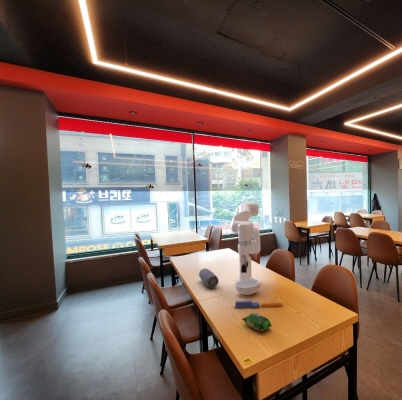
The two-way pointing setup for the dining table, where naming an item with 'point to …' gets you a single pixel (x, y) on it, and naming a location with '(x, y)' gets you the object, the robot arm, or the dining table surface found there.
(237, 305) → the blue notched block
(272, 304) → the fry
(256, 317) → the snack package
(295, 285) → the dining table surface
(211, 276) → the bluetooth speaker
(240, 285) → the cereal bowl
